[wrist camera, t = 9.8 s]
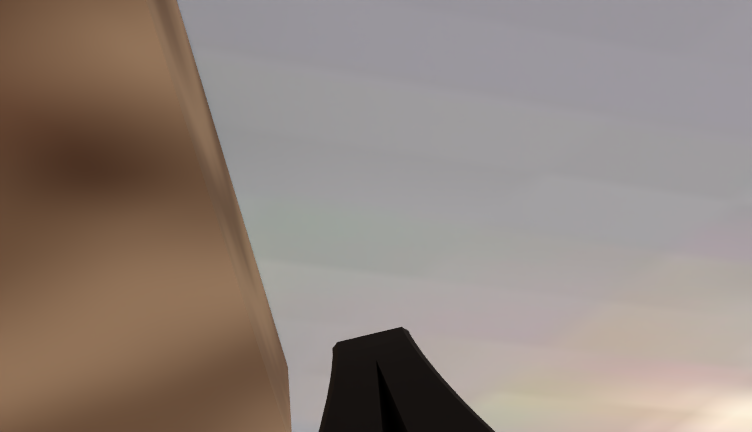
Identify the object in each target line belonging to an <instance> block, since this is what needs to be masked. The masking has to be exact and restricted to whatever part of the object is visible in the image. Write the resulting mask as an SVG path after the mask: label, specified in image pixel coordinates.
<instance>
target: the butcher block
mask: <svg viewBox="0 0 752 432" xmlns="http://www.w3.org/2000/svg"><path fill="white" fill-rule="evenodd" d="M0 432H291V415H290V397H289V380H288V367H287V363H286V360H285V357H284V353H283V350H282V347H281V343H280V340H279V337H278V334H277V330H276V327H275V324H274V320H273V317H272V314H271V310H270V307H269V304H268V301H267V297H266V294H265V291H264V287H263V284H262V281H261V277H260V274H259V271H258V268H257V264H256V261H255V258H254V254H253V251H252V248H251V244H250V241H249V238H248V235H247V231H246V228H245V225H244V221H243V218H242V215H241V211H240V208H239V205H238V202H237V198H236V195H235V192H234V188H233V185H232V182H231V178H230V175H229V172H228V169H227V165H226V162H225V159H224V155H223V152H222V149H221V145H220V142H219V139H218V136H217V132H216V129H215V126H214V122H213V119H212V116H211V112H210V109H209V106H208V103H207V99H206V96H205V93H204V89H203V86H202V83H201V79H200V76H199V73H198V70H197V66H196V63H195V60H194V56H193V53H192V50H191V46H190V43H189V40H188V37H187V33H186V30H185V27H184V23H183V20H182V17H181V13H180V10H179V7H178V4H177V0H0Z"/></svg>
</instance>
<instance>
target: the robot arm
mask: <svg viewBox="0 0 752 432" xmlns="http://www.w3.org/2000/svg"><path fill="white" fill-rule="evenodd" d="M319 432H495V431H494V430H493V429H492V428H491V427H490V426H489V425H488V424H486V423H485V422H484V421H483V420H482V419H481V418H480V417H479V416H478V415H477V414H476V413H475V412H474V411H473V410H472V409H471V408H470V407H469V406H468V405H467V404H466V403H465V402H464V401H463V400H462V399H461V398H460V397H459V395H458V394H457V393H456V392H455V391H454V390H453V389H452V388H451V387H450V386H449V385H448V383H447V382H446V381H445V380H444V379H443V378H442V377H441V376H440V374H439V373H438V372H437V371H436V370H435V368H434V367H433V366H432V365H431V363H430V362H429V361H428V360H427V358H426V357H425V356H424V354H423V353H422V352H421V350H420V349H419V347H418V346H417V345H416V343H415V341H414V340H413V338H412V337H411V335H410V333H409V331H408V330H406V329H404V328H403V327H399V328H395V329H391V330H386V331H382V332H378V333H374V334H370V335H365V336H361V337H357V338H353V339H349V340H344V341H340V342H337V343H336V345H335V346H334V347H333V360H332V371H331V378H330V384H329V389H328V395H327V400H326V404H325V408H324V412H323V416H322V421H321V425H320V429H319Z"/></svg>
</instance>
